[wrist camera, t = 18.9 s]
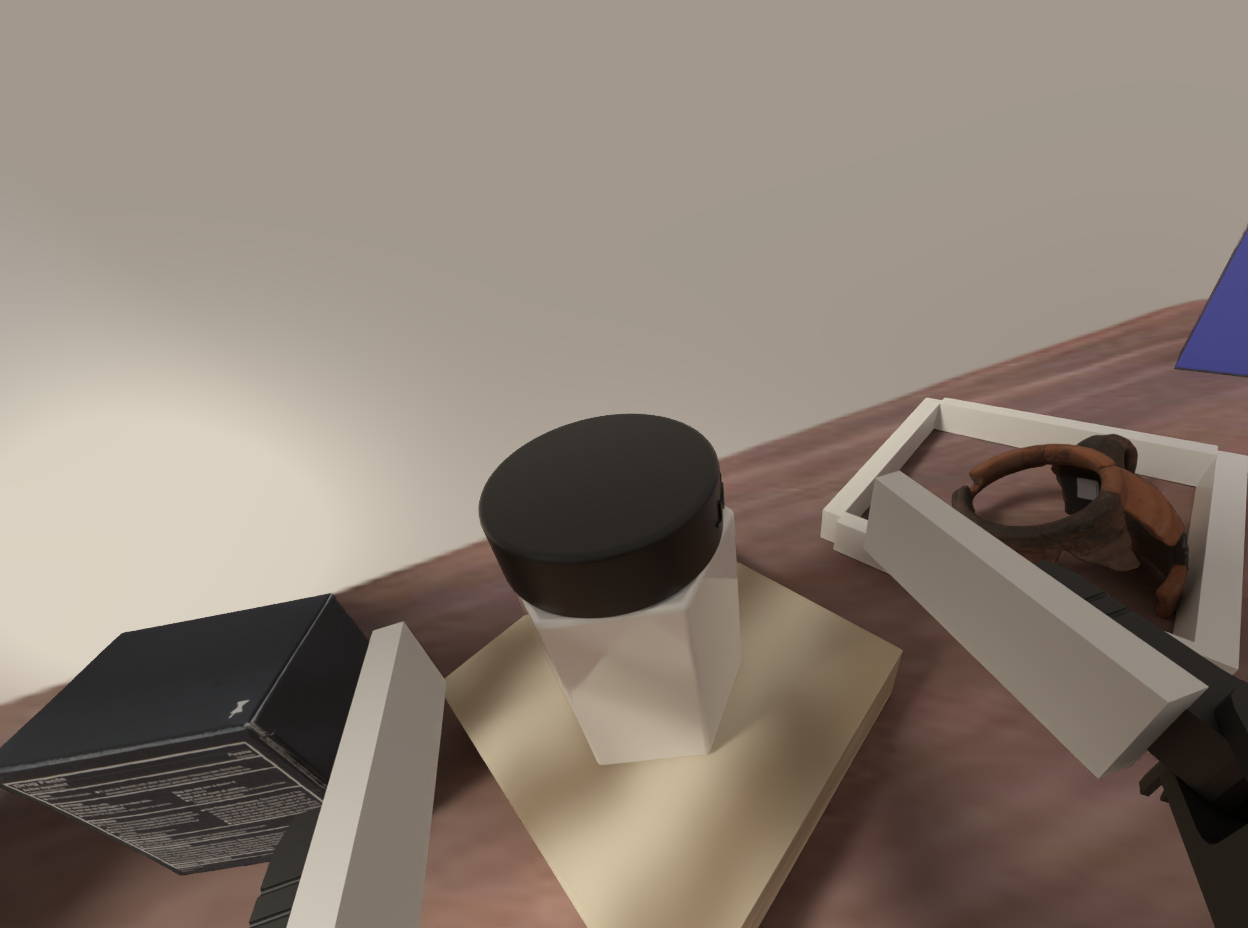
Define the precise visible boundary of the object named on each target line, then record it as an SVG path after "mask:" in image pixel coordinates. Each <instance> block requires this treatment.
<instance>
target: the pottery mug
mask: <svg viewBox="0 0 1248 928" xmlns="http://www.w3.org/2000/svg"><path fill="white" fill-rule="evenodd" d="M1137 458H1138V452H1137V449H1136V447H1135V446H1134V445H1133V444H1132V442H1131V441H1130V440H1129V439H1127V438H1125V437H1123V436H1120V435H1117V434H1108V435H1093V436H1090V437H1088V438H1086V439H1084V440H1082V441H1081V442H1079V443H1078V444H1077V445H1070V444H1045V445H1034V446H1028V447H1024V448H1020V449H1015V450H1011V451H1008V452H1005V453H1002V454H1000V455H998V456H996V457H993V458H991V459H989V460H987V461H985V462H983V463H981V464H980V465H978V466H976V467H975V468H974V469H972V470H971V471H970V472H969V475H970V477H971V479H972V480H973V481H974V485H973V486H972V487H971V488H969V487H968V486H962V487H961V488H959V489H958V490H956V491H955V492H953V494H952V506H953V508H954V509H955V510H957V511H958V512H959V513H961V514H962V515H964V516H965V517H967V518H968V519H970V520H971V521H972V522H974V523H975V524H977V525H978V526H980V527H981V528H982V529H984V530H985V531H987V532H988V533H990V534H991V535H992V536H994V537H995V538H997V539H998V540H1000V541H1001V542H1002V543H1004V544H1005V545H1007V546H1008V547H1010V548H1011V549H1012V550H1014V551H1015V552H1017V553H1018V554H1020V555H1021V556H1022V557H1024V558H1025V559H1027V560H1028V561H1030V562H1031V563H1032V564H1035V563H1038V562H1041V561H1044V560H1047V561H1049V562H1051V563H1054V564H1056V563H1057V560H1058V558H1059V556H1060V554H1061V552H1062V551H1063V550H1066V551H1068V552H1069V553H1071V554H1072V555H1073V556H1074V557H1076V558H1078V559H1080V560H1082V561H1085V562H1089V563H1094V564H1099V565H1103V566H1106V567H1108V568H1111V569H1113V570H1116V571H1127V570H1131V569H1135V568H1137V567H1139V565H1140V563H1139V561H1138V560H1137V558H1136V556H1135V554H1134V553H1136V554H1138V555H1140V556H1142V557H1144V558H1146V559H1148V560H1149V561H1151V562H1152V563H1153V564H1154V565H1155V566H1156V567H1157V568H1159V569H1160V570H1161V571H1162V572H1163V573H1164V575H1165V577H1166V579H1165V580H1164V581H1163V583H1162V584H1161V585H1160V586H1159V588H1158V589H1157V590H1156V592H1155V594H1156V597H1157V599H1158V600H1159V602H1158V603H1157V606H1156V615H1157V616H1159V617H1161V618H1168V617H1170V616H1171V615H1172V613H1174V611H1175V610H1176V609H1177V607H1178V605H1179V603H1180V600H1181V595H1182V588H1183V585H1184V583H1185V581H1186V579H1187V572H1188V569H1189V568H1188V562H1189V557H1188V556H1189V547H1188V543H1187V537H1186V534H1185V532H1184V530H1185V529H1184V526H1183V523H1182V521H1181V519H1180V517H1179V516H1178V515H1177V513H1176V511H1175V510H1174V508H1173V507H1172V505H1171V504H1170V503H1169V502H1168V501H1167V500H1166V498H1165V497H1164V495H1163V494H1162V493H1161V492H1160V491H1159V490H1158V489H1157V488H1156V487H1154V486H1153V485H1152V484H1151V483H1149V482H1147V481H1146V480H1144V479H1142V478H1141V477H1139V476H1138V475H1135V471H1136V466H1137ZM1047 464H1050V465H1052V467H1051V470H1052V471H1053V473H1054V474H1056V478H1057V481H1058V483H1059V484H1060V486H1061V488H1062V492H1063V500H1064V502H1065V512H1066V513H1067V514H1070V516H1068V517H1066V518H1063V519H1061V520H1058V521H1055V522H1051V523H1046V524H1043V525H1036V526H1005V525H998V524H993V523H990V522H988V521H985V520H983V519H981V518H980V517H979V516H977V515H976V514H975V510H974V508H973V504H972V503H973V499H974V497H975V496H976V495H977V494H978V493H979V492H980V491H981V490H982V489H983V488H985V487H986V486H988V485H989V484H991V483H992V482H994V481H996V480H998V479H1000V478H1002V477H1004V476H1006V475H1009V474H1012V473H1015V472H1018V471H1022V470H1025V469H1029V468H1035V467H1042V466H1044V465H1047Z"/></svg>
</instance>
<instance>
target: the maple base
mask: <svg viewBox="0 0 1248 928" xmlns="http://www.w3.org/2000/svg"><path fill="white" fill-rule="evenodd" d="M737 578H738V596H739V615H740V633H741V652H742V662H741V664H740V667H739V670H738V673H737V676H736V679H735V681H734V684H733V687H732V690H731V693H730V696H729V699H728V701H727V704H726V707H725V710H724V713H723V716H722V719H721V722H720V724H719V727H718V730H717V733H716V736H715V739H714V742H713V745H712V748H711V750H710V752H709V753H708V754H706V755H698V756H689V757H679V758H669V759H660V760H650V761H640V762H630V763H621V764H611V765H600V764H598V763H597V761H596V759H595V757H594V756H593V754H592V752H591V750H590V748H589V746H588V744H587V742H586V740H585V738H584V736H583V734H582V732H581V730H580V728H579V726H578V724H577V722H576V720H575V718H574V716H573V714H572V712H571V710H570V708H569V706H568V704H567V702H566V700H565V699H564V697H563V695H562V693H561V691H560V689H559V687H558V685H557V683H556V681H555V679H554V676H553V674H552V672H551V670H550V668H549V666H548V663H547V661H546V659H545V657H544V655H543V653H542V651H541V648H540V646H539V644H538V642H537V640H536V638H535V636H534V633H533V631H532V629H531V627H530V625H529V623H528V621H527V618H526V616H525V615H524V616H523V617H522V618H520V619H519V620H518V621H516V622H515V623H514V624H513V625H511V626H510V627H509V628H508V629H506V630H505V631H504V632H503V633H501V634H500V635H499V636H497V637H496V638H495V639H494V640H492V641H491V642H490V643H489V644H487V645H486V646H485V647H484V648H482V649H481V650H480V651H479V652H477V653H476V654H475V655H473V656H472V657H471V658H470V659H468V660H467V661H466V662H465V663H463V664H462V665H461V666H460V667H458V668H457V669H456V670H454V671H453V672H452V673H451V674H449V675H448V676H447V677H446V678H444V679H445V681H446V682H447V683H446V692H445V699H446V700H447V702H448V703H449V705H450V707H451V708H452V710H453V712H454V713H455V715H456V716H457V718H458V720H459V721H460V723H461V724H462V726H463V728H464V729H465V731H466V733H467V734H468V736H469V737H470V739H471V741H472V742H473V744H474V745H475V747H476V749H477V750H478V752H479V753H480V755H481V757H482V758H483V760H484V762H485V763H486V765H487V766H488V768H489V770H490V771H491V773H492V774H493V776H494V778H495V779H496V781H497V782H498V784H499V786H500V787H501V789H502V791H503V792H504V794H505V795H506V797H507V799H508V800H509V802H510V803H511V805H512V807H513V808H514V810H515V811H516V813H517V815H518V816H519V818H520V820H521V821H522V823H523V824H524V826H525V828H526V829H527V831H528V832H529V834H530V836H531V837H532V839H533V841H534V842H535V844H536V845H537V847H538V849H539V850H540V852H541V853H542V855H543V857H544V858H545V860H546V861H547V863H548V865H549V866H550V868H551V870H552V871H553V873H554V874H555V876H556V878H557V879H558V881H559V882H560V884H561V886H562V887H563V889H564V890H565V892H566V894H567V895H568V897H569V899H570V900H571V902H572V903H573V905H574V907H575V908H576V910H577V911H578V913H579V915H580V916H581V918H582V919H583V921H584V923H585V924H586V926H587V928H758V927H759V926H760V924H761V922H762V920H763V919H764V917H765V915H766V913H767V911H768V910H769V908H770V906H771V904H772V903H773V901H774V899H775V897H776V896H777V894H778V892H779V890H780V888H781V887H782V885H783V883H784V881H785V880H786V878H787V876H788V874H789V873H790V871H791V869H792V867H793V866H794V864H795V862H796V860H797V858H798V857H799V855H800V853H801V851H802V850H803V848H804V846H805V844H806V843H807V841H808V839H809V837H810V835H811V834H812V832H813V830H814V828H815V827H816V825H817V823H818V821H819V820H820V818H821V816H822V814H823V813H824V811H825V809H826V807H827V805H828V804H829V802H830V800H831V798H832V797H833V795H834V793H835V791H836V790H837V788H838V786H839V784H840V782H841V781H842V779H843V777H844V775H845V774H846V772H847V770H848V768H849V767H850V765H851V763H852V761H853V760H854V758H855V756H856V754H857V752H858V751H859V749H860V747H861V745H862V744H863V742H864V740H865V738H866V737H867V735H868V733H869V731H870V729H871V728H872V726H873V724H874V722H875V721H876V719H877V717H878V715H879V714H880V712H881V710H882V708H883V707H884V705H885V703H886V701H887V699H888V698H889V696H890V694H891V692H892V689H893V685H894V682H895V678H896V675H897V671H898V668H899V664H900V660H901V657H902V653H903V650H902V649H900V648H898V647H896V646H894V645H892V644H891V643H889V642H887V641H885V640H883V639H881V638H879V637H877V636H876V635H874V634H872V633H870V632H868V631H866V630H864V629H863V628H861V627H859V626H857V625H855V624H853V623H851V622H849V621H848V620H846V619H844V618H842V617H840V616H838V615H836V614H834V613H833V612H831V611H829V610H827V609H825V608H823V607H821V606H819V605H818V604H816V603H814V602H812V601H810V600H808V599H806V598H804V597H803V596H801V595H799V594H797V593H795V592H793V591H791V590H789V589H788V588H786V587H784V586H782V585H780V584H778V583H776V582H774V581H773V580H771V579H769V578H767V577H765V576H763V575H761V574H759V573H758V572H756V571H754V570H752V569H750V568H748V567H746V566H744V565H743V564H741V563H739V562H737Z"/></svg>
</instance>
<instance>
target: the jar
mask: <svg viewBox="0 0 1248 928" xmlns="http://www.w3.org/2000/svg"><path fill="white" fill-rule="evenodd" d="M479 518H480V523H481V526H482V528H483V531H484V533H485V535H486V537H487V539H488V541H489V543H490V546H491V548H492V550H493V552H494V554H495V556H496V558H497V561H498V563H499V565H500V567H501V569H502V571H503V573H504V575H505V578H506V580H507V582H508V583H509V585H510V586H511V587H512V589H513V590H514V593H515V595H516V597H517V599H518V601H519V603H520V606H521V608H522V610H523V612H524V614H525V616H526V618H527V621H528V623H529V625H530V627H531V629H532V631H533V633H534V636H535V638H536V640H537V642H538V644H539V646H540V648H541V651H542V653H543V655H544V657H545V659H546V661H547V663H548V666H549V668H550V670H551V672H552V674H553V676H554V679H555V681H556V683H557V685H558V687H559V689H560V691H561V693H562V695H563V697H564V699H565V700H566V702H567V704H568V706H569V708H570V710H571V712H572V714H573V716H574V718H575V720H576V722H577V724H578V726H579V728H580V730H581V732H582V734H583V736H584V738H585V740H586V742H587V744H588V746H589V748H590V750H591V752H592V754H593V756H594V757H595V759H596V761H597V763H598V764H600V765H611V764H621V763H630V762H640V761H650V760H660V759H669V758H679V757H689V756H698V755H706V754H708V753H709V752H710V750H711V748H712V745H713V742H714V739H715V736H716V733H717V730H718V727H719V724H720V722H721V719H722V716H723V713H724V710H725V707H726V704H727V701H728V699H729V696H730V693H731V690H732V687H733V684H734V681H735V679H736V676H737V673H738V670H739V667H740V664H741V662H742V652H741V633H740V615H739V596H738V578H737V560H736V541H735V523H734V513H733V511H732V510H731V509H729V508H728V507H727V506H725V504H724V489H723V482H721V473H720V468H719V461H718V458H717V455H716V452H715V450H714V448H713V447H712V445H711V444H710V442H709V441H708V440H707V439H706V438H705V437H704V436H703V435H702V434H701V433H699V432H698V431H697V430H695V429H694V428H692V427H690V426H688V425H686V424H684V423H682V422H679V421H676V420H673V419H670V418H665V417H660V416H655V415H646V414H615V415H606V416H600V417H594V418H590V419H585V420H581V421H578V422H574V423H571V424H568V425H565V426H562V427H559V428H557V429H554V430H552V431H549V432H547V433H545V434H543V435H541V436H539V437H537V438H535V439H533V440H532V441H530V442H528V443H527V444H525V445H524V446H522V447H521V448H519V449H518V450H516V451H515V452H514V453H513V454H511V455H510V456H509V457H508V458H507V459H505V460H504V461H503V462H502V463H501V464H500V465H499V466H498V467H497V469H496V470H495V471H494V472H493V473H492V475H491V476H490V478H489V479H488V481H487V483H486V484H485V486H484V489H483V491H482V494H481V497H480V501H479Z"/></svg>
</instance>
